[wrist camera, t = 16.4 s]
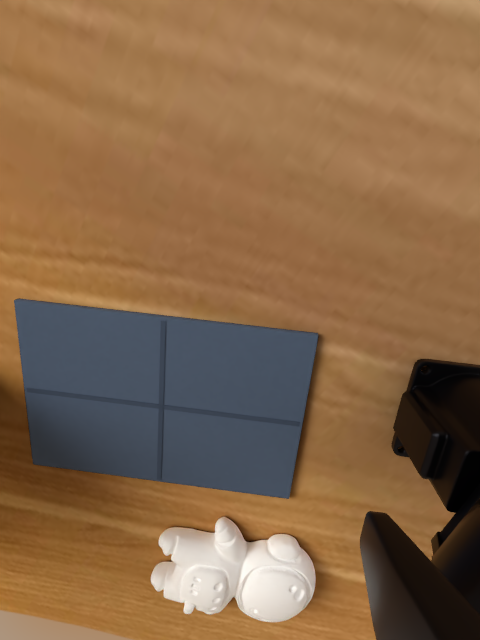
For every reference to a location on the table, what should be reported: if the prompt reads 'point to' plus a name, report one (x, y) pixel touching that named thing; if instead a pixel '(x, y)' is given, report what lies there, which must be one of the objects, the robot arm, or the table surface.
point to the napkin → (164, 396)
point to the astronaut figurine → (235, 572)
